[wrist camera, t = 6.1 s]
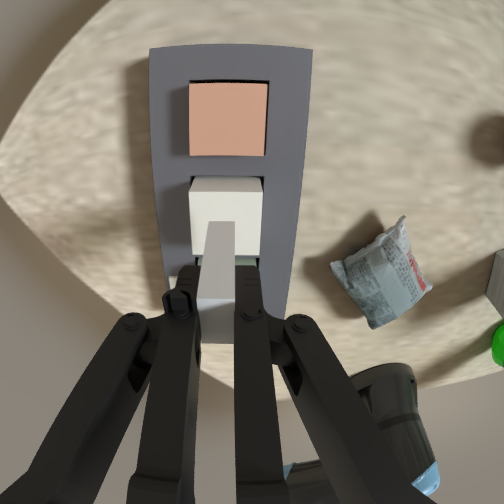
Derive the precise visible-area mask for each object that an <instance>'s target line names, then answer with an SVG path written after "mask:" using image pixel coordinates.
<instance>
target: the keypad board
mask: <svg viewBox="0 0 504 504" xmlns="http://www.w3.org/2000/svg"><path fill="white" fill-rule="evenodd" d="M312 55H313V50H311V49H304V48H295V47H285V46H273V45H257V44H198V45H182V46H170V47H160V48H152V49H149V113H150V138H151V156H152V170H153V182H154V193H155V203H156V213H157V221H158V230H159V238H160V245H161V253H162V260H163V266H164V273H165V279H166V285H167V291H168V290H171V289H173V288H175V285H176V281H177V277H178V273H179V271H180V270H181V269H182V267H183V266H184V265H197V264H198V259H199V257H203V255H193V252H192V239H191V224H190V207H189V190H190V188H191V185H192V183H193V181H194V179H195V176H196V175H233V176H261V186H262V190H263V201H262V218H261V235H260V252H259V255H235V258H257V259H256V267H257V269H258V270H259V271H260V280H261V288H262V297H263V306H264V309H265V310H266V312H267V313H268V314H270V315H271V316H273V317H276V318H279V319H283V320H284V317H285V310H286V303H287V297H288V290H289V283H290V276H291V269H292V261H293V254H294V246H295V238H296V231H297V222H298V214H299V205H300V197H301V188H302V178H303V169H304V159H305V148H306V137H307V126H308V114H309V101H310V87H311V72H312ZM204 80H247V81H266V84H267V101H266V121H265V140H264V156H239V155H197V156H190V145H189V84H195V81H204Z"/></svg>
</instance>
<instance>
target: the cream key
mask: <svg viewBox="0 0 504 504" xmlns="http://www.w3.org/2000/svg"><path fill="white" fill-rule="evenodd" d="M262 201H263V190H262V186H261V181H260V177H259V176H233V175H196V176H195V179H194V181H193V183H192V185H191V188H190V190H189V207H190V224H191V239H192V252H193V255H203V253H204V247H205V241H206V235H207V229H208V223H209V221H235V255H259V252H260V235H261V218H262Z"/></svg>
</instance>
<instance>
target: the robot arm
mask: <svg viewBox="0 0 504 504" xmlns="http://www.w3.org/2000/svg"><path fill="white" fill-rule="evenodd" d="M162 301H163V306H164V311H165V313H164V314H163V315H161V316H158V317H154V318H149V319H146V318H145V317H144V315H142V314H140V313H134V312H132V313H127V314H125V315H123V316H122V317H121V318H120V319H119V320H118V322H117V323H116V324H115V326H114V327H113V329H112V330H111V331H110V333H109V334H108V336H107V337H106V339H105V340H104V342H103V343H102V345H101V346H100V348H99V350H98V351H97V352H96V354H95V355H94V357H93V359H92V360H91V362H90V363H89V365H88V366H87V368H86V369H85V371H84V373H83V374H82V376H81V378H80V379H79V381H78V382H77V384H76V385H75V387H74V389H73V390H72V392H71V394H70V396H69V397H68V398H67V400H66V402H65V404H64V405H63V407H62V409H61V410H60V412H59V414H58V415H57V417H56V419H55V421H54V422H53V424H52V426H51V428H50V429H49V432H48V433H47V435H46V437H45V438H44V440H43V442H42V444H41V446H40V448H39V450H38V451H37V453H36V456H35V457H34V459H33V461H32V463H31V465H30V467H29V469H28V471H27V472H26V473H25V474H24V475H22V476H21V477H20V478H19V479H18V480H17V481H15V482H14V483H13V484H12V485H11V486H10V487H8V488H7V489H6V490H5V491H4V492H3V493H2V494H0V504H93V503H94V501H95V499H96V497H97V494H98V492H99V489H100V487H101V485H102V483H103V481H104V478H105V476H106V474H107V471H108V469H109V467H110V465H111V463H112V460H113V458H114V456H115V454H116V452H117V449H118V447H119V445H120V443H121V441H122V439H123V436H124V434H125V432H126V430H127V428H128V426H129V424H130V421H131V419H132V417H133V415H134V413H135V411H136V409H137V407H138V405H139V403H140V400H141V398H142V396H143V394H144V392H145V390H146V388H147V386H148V384H149V382H150V386H149V391H148V396H147V402H146V408H145V414H144V420H143V426H142V433H141V440H140V447H139V454H138V461H137V468H136V471H135V473H134V474H133V475H132V476H131V478H130V480H129V484H128V491H127V500H126V504H195V497H194V466H195V442H196V441H195V440H196V421H197V405H198V389H199V376H200V363H201V347H200V344H201V342H202V343H215V344H234V412H235V459H236V460H235V465H236V499H237V504H437V503H435V502H434V501H432V500H431V499H430V498H429V497H427V496H428V495H429V494H431V493H433V492H434V491H435V490H436V489H437V488H438V486H439V484H440V476H439V472H438V468H437V461H436V460H435V457H434V454H433V451H432V448H431V445H430V443H429V440H428V437H427V434H426V431H425V429H424V426H423V423H422V421H421V418H420V416H419V413H418V402H417V382H416V378H415V375H414V373H413V371H412V369H411V367H410V366H408V365H406V364H402V363H392V364H386V365H382V366H378V367H375V368H372V369H369V370H367V371H364V372H362V373H360V374H358V375H356V376H354V377H352V378H351V379H350V378H349V377H348V375H347V373H346V372H345V370H344V368H343V367H342V365H341V363H340V362H339V360H338V358H337V357H336V355H335V353H334V352H333V350H332V348H331V347H330V345H329V344H328V342H327V340H326V339H325V337H324V335H323V334H322V332H321V330H320V329H319V327H318V325H317V324H316V322H315V321H314V320H313V319H312V318H311V317H309V316H307V315H303V314H294V315H291V316H289V317H288V318H287V319H286V320H283V319H279V318H276V317H273V316H271V315H270V314H268V313H267V312H266V310H265V309H264V306H263V297H262V288H261V280H260V271H259V270H258V269H257V267H256V266H255V265H235V221H209V223H208V229H207V235H206V241H205V247H204V253H203V259H202V265H201V266H200V265H184V266H183V267H182V269H181V270H180V271H179V273H178V277H177V281H176V285H175V288H173V289H171V290H168V291H167V292H166V293H164V295H163V297H162ZM272 364H275V365H278V368H279V370H280V372H281V375H282V377H283V379H284V381H285V384H286V386H287V388H288V390H289V393H290V395H291V397H292V399H293V402H294V404H295V406H296V408H297V410H298V412H299V415H300V417H301V419H302V421H303V423H304V426H305V428H306V430H307V432H308V434H309V437H310V439H311V441H312V443H313V445H314V448H315V450H316V452H317V454H318V456H319V458H320V459H317V460H313V461H308V462H301V463H292V464H290V465H285V466H283V462H282V453H281V443H280V433H279V424H278V415H277V405H276V396H275V387H274V378H273V369H272Z"/></svg>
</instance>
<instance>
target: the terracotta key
mask: <svg viewBox="0 0 504 504" xmlns="http://www.w3.org/2000/svg"><path fill="white" fill-rule="evenodd" d="M266 101H267V84H253V83H197V84H189V145H190V156H197V155H239V156H264V140H265V121H266Z"/></svg>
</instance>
